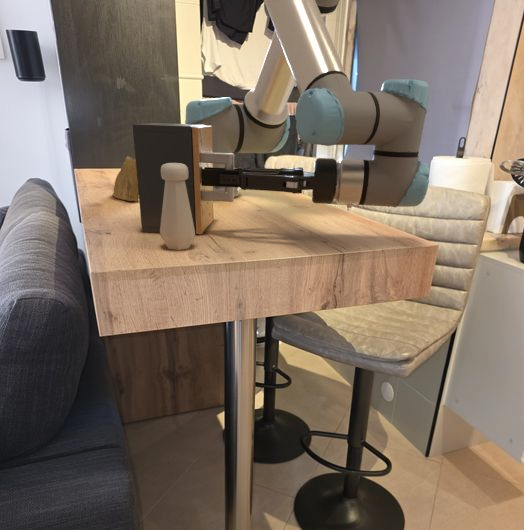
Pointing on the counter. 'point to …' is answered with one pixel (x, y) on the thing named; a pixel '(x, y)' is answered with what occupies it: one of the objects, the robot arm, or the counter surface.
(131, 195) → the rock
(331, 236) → the counter surface
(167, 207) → the salt shaker
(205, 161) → the door
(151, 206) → the dark grey cabinet
